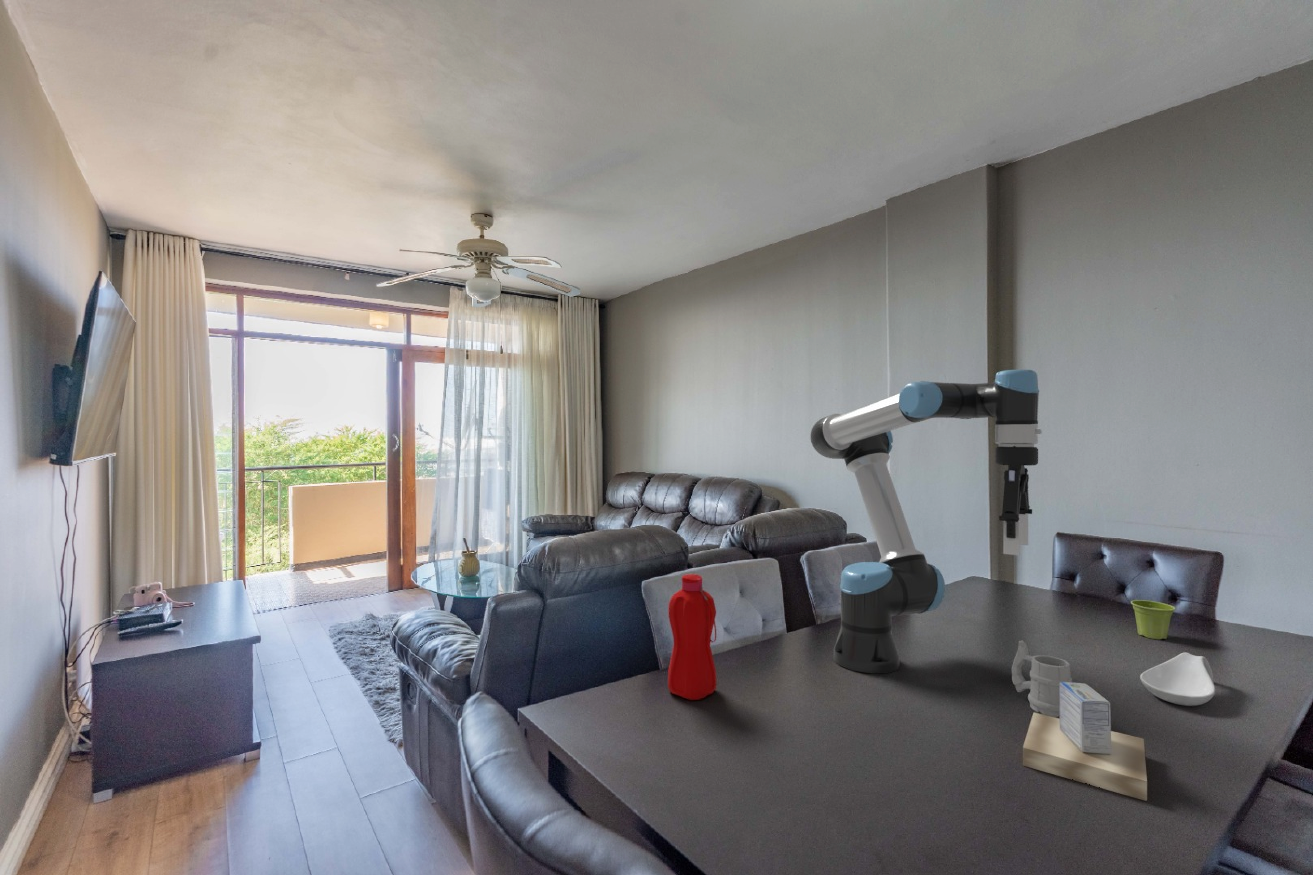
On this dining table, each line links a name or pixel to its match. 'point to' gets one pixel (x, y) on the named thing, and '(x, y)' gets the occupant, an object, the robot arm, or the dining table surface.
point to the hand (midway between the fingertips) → (1016, 549)
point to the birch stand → (1087, 758)
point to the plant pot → (1152, 618)
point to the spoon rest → (1181, 680)
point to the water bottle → (692, 640)
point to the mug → (1041, 680)
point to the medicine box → (1085, 717)
